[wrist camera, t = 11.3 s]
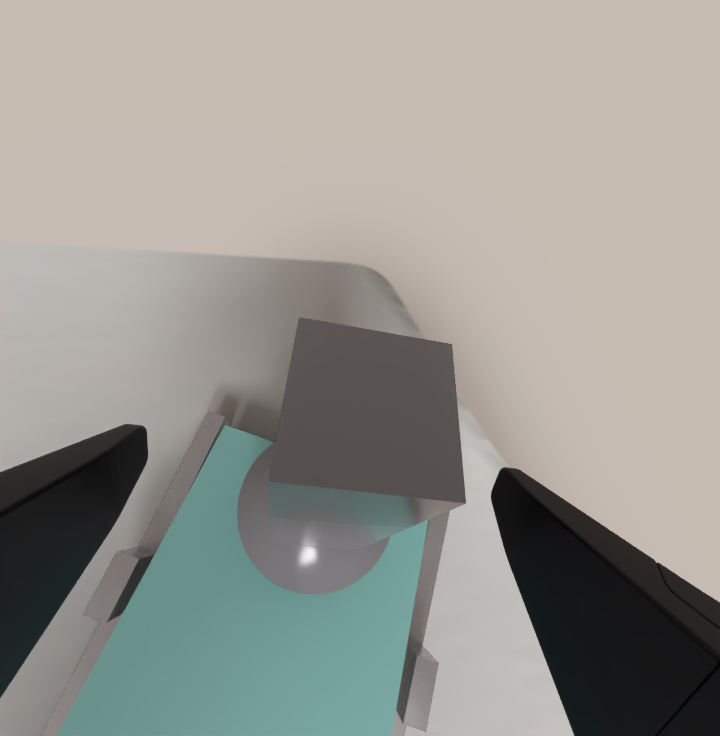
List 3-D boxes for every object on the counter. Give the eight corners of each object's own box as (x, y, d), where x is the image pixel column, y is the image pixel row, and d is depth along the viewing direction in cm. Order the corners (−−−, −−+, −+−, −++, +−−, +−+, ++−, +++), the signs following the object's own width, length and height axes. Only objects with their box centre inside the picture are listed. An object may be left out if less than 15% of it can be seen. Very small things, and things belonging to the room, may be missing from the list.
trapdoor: (336, 951, 13) (345, 1005, 11) (14, 846, 13) (-25, 885, 11) (419, 505, 22) (432, 498, 20) (228, 437, 21) (225, 424, 20)
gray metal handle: (372, 598, 17) (570, 620, 6) (227, 588, 16) (122, 590, 5) (377, 459, 21) (507, 302, 9) (258, 445, 20) (239, 250, 8)
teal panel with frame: (357, 892, 16) (375, 1008, 12) (31, 784, 16) (-54, 870, 12) (441, 498, 23) (469, 495, 19) (215, 418, 22) (198, 398, 19)
